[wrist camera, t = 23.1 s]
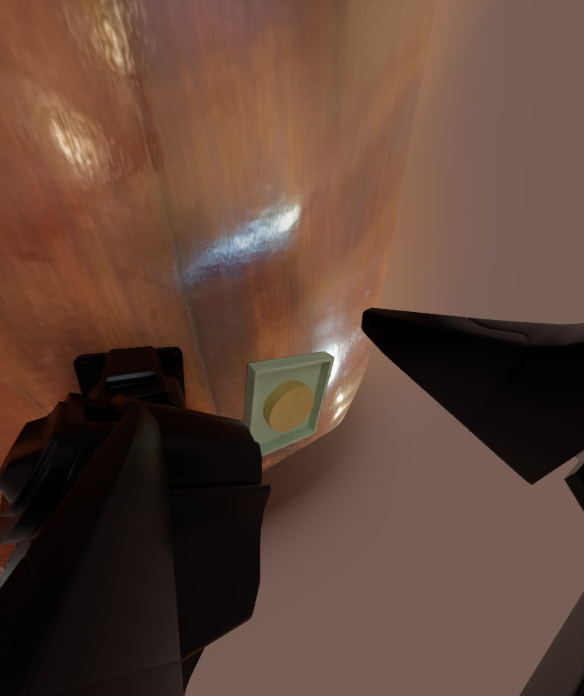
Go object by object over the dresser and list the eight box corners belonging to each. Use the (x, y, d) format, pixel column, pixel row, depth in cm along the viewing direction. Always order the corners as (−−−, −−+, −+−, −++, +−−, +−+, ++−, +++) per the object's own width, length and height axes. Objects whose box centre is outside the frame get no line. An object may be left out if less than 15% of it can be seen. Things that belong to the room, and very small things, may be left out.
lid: (282, 373, 25) (290, 380, 24) (315, 387, 30) (323, 393, 29) (252, 420, 26) (258, 429, 25) (289, 426, 30) (295, 434, 29)
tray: (307, 425, 34) (315, 433, 32) (241, 451, 28) (247, 463, 26) (325, 351, 29) (334, 357, 27) (248, 363, 23) (255, 371, 21)
